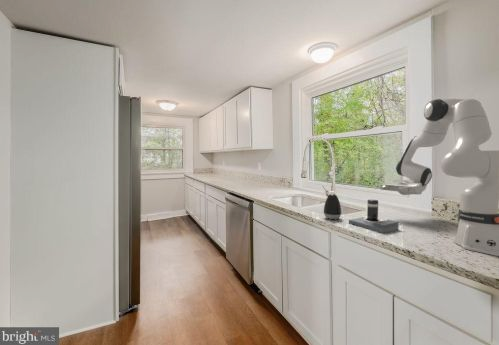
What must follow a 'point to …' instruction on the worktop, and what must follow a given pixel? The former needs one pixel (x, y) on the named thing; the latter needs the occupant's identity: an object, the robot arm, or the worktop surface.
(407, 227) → the worktop surface
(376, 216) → the lens
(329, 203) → the pump dispenser
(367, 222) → the mount
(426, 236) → the worktop surface
